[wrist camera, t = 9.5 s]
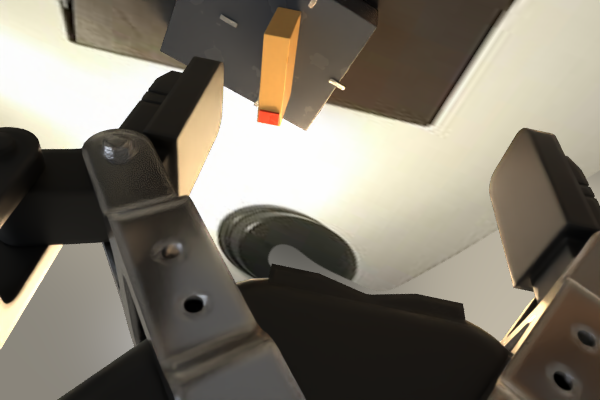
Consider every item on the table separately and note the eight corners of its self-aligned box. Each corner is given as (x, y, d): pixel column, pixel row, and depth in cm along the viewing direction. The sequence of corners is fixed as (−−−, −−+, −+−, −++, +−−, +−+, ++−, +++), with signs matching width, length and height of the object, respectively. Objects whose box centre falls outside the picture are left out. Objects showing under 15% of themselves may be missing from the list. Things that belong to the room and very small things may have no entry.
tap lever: (277, 6, 33) (262, 34, 30) (301, 11, 33) (289, 40, 30) (269, 90, 38) (256, 123, 34) (290, 94, 38) (279, 128, 34)
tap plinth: (174, 35, 40) (158, 52, 37) (219, -94, 33) (203, -84, 30) (316, 114, 43) (311, 136, 41) (385, 13, 36) (384, 31, 33)
